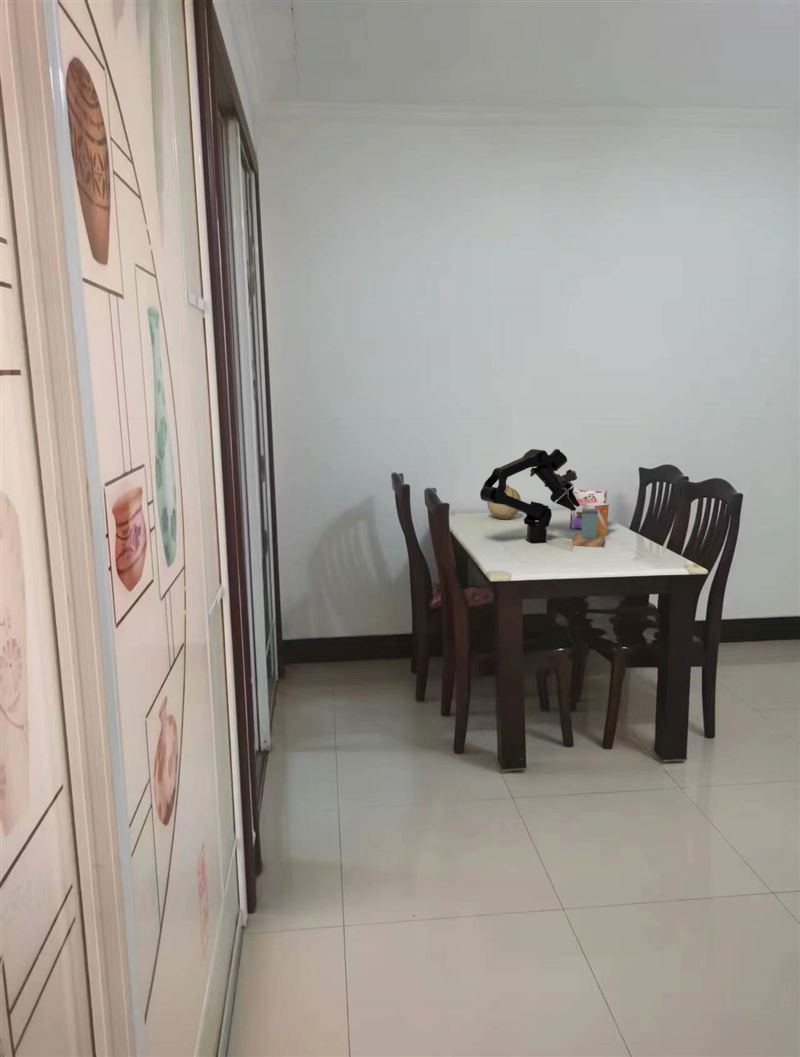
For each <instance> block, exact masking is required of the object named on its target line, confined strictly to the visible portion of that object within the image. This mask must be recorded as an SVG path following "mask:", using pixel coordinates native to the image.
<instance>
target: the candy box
mask: <svg viewBox="0 0 800 1057" xmlns="http://www.w3.org/2000/svg"><path fill="white" fill-rule="evenodd" d="M573 493H574V495H575V497H576V499H577V501H578V502H579V504H580V506H579V507H577V506H575V505H574V506H575V508H576V510H575V511H573V510H570V520H569V522H570V523H569V524H570V525H569V529H573V530H582V509H583V504H586V503H595V502H600V503H605V504H607V501H608V500H607V499H608V490H607V489H589V488H576V487H575V488H574V490H573Z"/></svg>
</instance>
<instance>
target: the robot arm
mask: <svg viewBox="0 0 800 1057" xmlns="http://www.w3.org/2000/svg"><path fill="white" fill-rule="evenodd" d="M567 462H568V457H567V456H566V455H565V453H563V452H562V451H561V449H560V448H559V449H557V448H555V449H554V450H553V451H552V452H551V453H550V454H548V452H547V451H546V450H543V449H538V448H537V449H535V448H531V449H529V450H528V451H527V452H525V453H524V454H523V456H521V457H520V458H518V459H515V460H513V461H511V462H509V463H507V464H504V465H502V466H499V467H496V468H495V469H493V471H492V473H491V475H490V476H489V477H488V478H487V479H486V481H485V482H484V484H483V486H482V488H481V490H480V493H479V494H480V500H482V501H484V502H491V503H496V504H502V505H505V506H508V507H510V508H513V509H515V510H518V511H519V512H521V513H523V514H525V515H526V516H525V517H524V518H523V523H524V525H527V528H526V538H525V539H524V540H525V541H527V542H529V543H530V544H539V543H540V544H541V543H542V544H543V543H548V542H547V532H548V531H547V529H546V528H548V527H549V526H550V523H551V520H552V515H553V514H552V509H551V508H549V505H547V504H543V503H542V502H536V501H532V500H531V501H530V503H529V502H526V501H522V499H521V500H518V499H516V498H513V497H511V496H508V495H507V494H506V492H505V490H506V486H507V480H508V478H510V477H512V476H513V475H516V474H519V473H520V472H522V471H525V470H527V469H530V468H531V469H530V473H529V474H530V477H531V478H532V477H534V475H536V476H537V477H538V478H539V479H540V481H542V482H543V484H544V487H545V488H548V489H549V491H551V494H550V499H549V500H550V501H551V502H552V503H555V504H557V505H559V506H562V507H564V508H566V509H569V510H570V511H571V510H573V511H575V510H576V508H575V506H577V507H579V506H580V504H579V502H578V501H577V499H576V497H575V495H574V493H573V490H574V487H575V486H574V484H573V483H572V482H573V481H576V480H577V479H578V475H577V472H576V471H575V470H572V469H567V470H566V473H565V474H562V475H560V473H556V472H558V471H559V469H561V468H562V467H563V466H564V465H565V464H566V463H567ZM497 482H498V485H497V487H495V486H494V485H495V484H496V483H497ZM574 505H575V506H574Z"/></svg>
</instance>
